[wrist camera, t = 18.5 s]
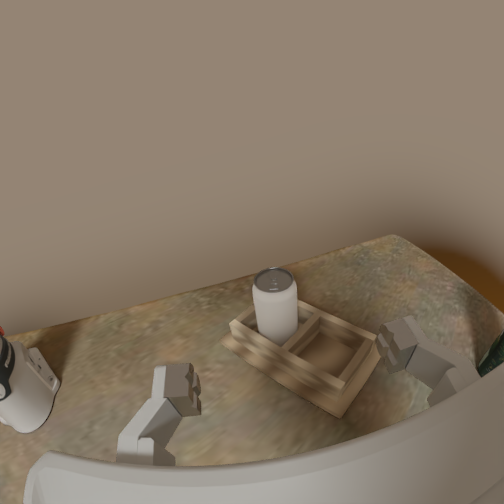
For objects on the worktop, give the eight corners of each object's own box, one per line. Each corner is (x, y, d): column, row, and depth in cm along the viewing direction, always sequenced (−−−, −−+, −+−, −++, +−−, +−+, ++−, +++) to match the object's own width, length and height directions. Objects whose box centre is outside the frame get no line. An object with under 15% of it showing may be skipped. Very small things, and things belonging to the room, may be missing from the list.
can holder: (220, 343, 47) (214, 324, 44) (272, 299, 55) (270, 279, 52) (340, 419, 32) (345, 404, 29) (384, 352, 40) (391, 332, 37)
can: (296, 318, 48) (294, 263, 42) (299, 347, 43) (299, 292, 36) (259, 321, 49) (251, 267, 42) (259, 350, 43) (249, 296, 37)
